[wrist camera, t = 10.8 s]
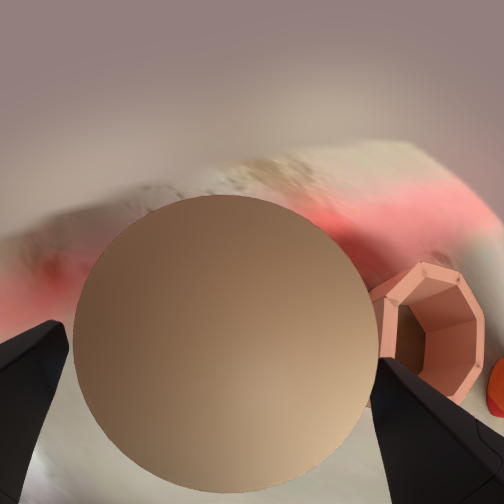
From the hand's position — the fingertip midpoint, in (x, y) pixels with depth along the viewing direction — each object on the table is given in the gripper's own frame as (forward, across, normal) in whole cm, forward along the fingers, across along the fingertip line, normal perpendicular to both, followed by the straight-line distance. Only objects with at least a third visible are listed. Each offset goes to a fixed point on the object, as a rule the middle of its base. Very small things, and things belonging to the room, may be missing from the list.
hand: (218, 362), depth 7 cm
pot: (+7, -11, +5) cm, 14 cm away
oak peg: (+6, 0, +5) cm, 8 cm away
